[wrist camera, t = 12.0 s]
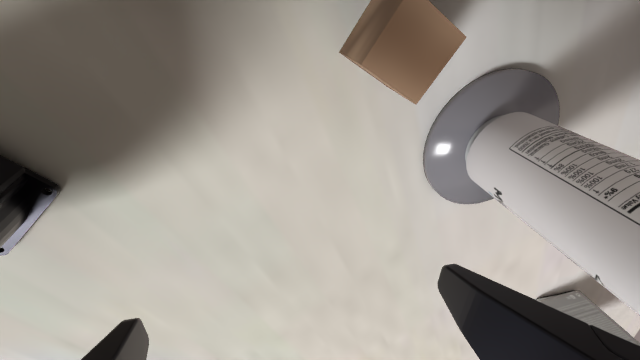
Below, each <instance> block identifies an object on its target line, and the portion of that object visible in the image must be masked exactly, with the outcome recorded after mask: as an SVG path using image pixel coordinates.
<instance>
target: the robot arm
mask: <svg viewBox="0 0 640 360" xmlns="http://www.w3.org/2000/svg"><path fill="white" fill-rule="evenodd" d="M45 188H48V189H50V190H51V191H52V192H49V191H47V190H46V189H45ZM59 192H60V187H59V186H58V185H57V184H56V183H54V182H52V181H50V180H48V179H46V178H44V177H42V176H40V175H38V174H37V173H35V172H33V171H31V170H29V169H27V168H25V167H23V166H21V165H19V164H17V163H15V162H13V161H11V160H9V159H7V158H5V157H3V156H1V155H0V255H6V254H8V253H9V252H10V251H11V250H12V249H13V247H14V246H15V245H16V244H17V243H18V241H19V240H20V239H21V238H22V237H23V235H24V234H25V233H26V232H27V231H28V229H29V228H30V227H31V226H32V225H33V224H34V222H35V221H36V220H37V219H38V218H39V216H40V215H41V214H42V213H43V212H44V210H45V209H46V208H47V207H48V206H49V204H50V203H51V202H52V201H53V200H54V199H55V197H56V196H57V195H58V194H59ZM1 247H2V248H1ZM438 289H439V292H440V294H441V296H442V297H443V299H444V301H445V303H446V305H447V307H448V309H449V310H450V312H451V314H452V316H453V318H454V320H455V322H456V323H457V325H458V327H459V329H460V330H461V332H462V334H463V335H464V337H465V338H466V340H467V341H468V343H469V344H470V346H471V347H472V349H473V350H474V351H475V353H476V354H477V356H478V357H479V359H480V360H640V346H639V345H637V344H634V343H632V342H630V341H627V340H625V339H623V338H620V337H618V336H616V335H614V334H611V333H609V332H607V331H604V330H602V329H600V328H598V327H596V326H593V325H589V324H588V323H586V322H584V321H581V320H579V319H577V318H575V317H572V316H570V315H568V314H566V313H564V312H561V311H559V310H557V309H555V308H552V307H550V306H548V305H546V304H543V303H541V302H539V301H537V300H535V299H532V298H530V297H528V296H526V295H523V294H521V293H519V292H517V291H515V290H512V289H510V288H508V287H506V286H503V285H501V284H499V283H497V282H495V281H492V280H490V279H488V278H486V277H483V276H481V275H479V274H477V273H475V272H472V271H470V270H468V269H466V268H463V267H461V266H459V265H457V264H450V265H445V266H443V267H442V270H441V273H440V277H439V280H438ZM148 346H149V338H148V334H147V332H146V330H145V328H144V325H143V323H142V321H141V319H139V318H134V319H128V320H124V321H122V322H121V323H120V324H118V325H117V326H116V327H115V328H114V329H113V330H112V331H111V332H110V333H109V334H108V335H107V336H106V337H105V338H104V339H103V340H101V341H100V342H99V343H98V344H97V345H96V346H95V347H94V348H93V349H92V350H91V351H90V352H89V353H88V354H87V355H86V356H84V357H83V358H82V359H81V360H146V357H147V352H148Z"/></svg>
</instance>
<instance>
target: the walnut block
mask: <svg viewBox="0 0 640 360" xmlns="http://www.w3.org/2000/svg"><path fill="white" fill-rule="evenodd" d="M465 38H466V36H465V35H464V34H463V33H462V32H461V31H460V30H459V29H458V28H457V27H456V26H455V25H453V24H452V23H451V22H450V21H449V20H448V19H447V18H446V17H445V16H444V15H443V14H442V13H441V12H440V11H439V10H438V9H437V8H436V7H435V6H434V5H433V4H432V3H431V2H430V1H429V0H371V1H370V3H369V5H368V6H367V8H366V9H365V11H364V13H363V14H362V16H361V18H360V19H359V21H358V22H357V24H356V26H355V27H354V29H353V31H352V32H351V34H350V35H349V37H348V39H347V40H346V42H345V44H344V45H343V47H342V48H341V50H340V52H339V53H341V54H342V55H344V56H345V57H346V58H348V59H349V60H351V61H352V62H353V63H355V64H356V65H358V66H359V67H360V68H362V69H363V70H365V71H366V72H367V73H369V74H370V75H372V76H373V77H374V78H376V79H377V80H379V81H380V82H382V83H383V84H384V85H386V86H387V87H389V88H390V89H392V90H393V91H395V92H397V93H398V94H400V95H401V96H403V97H405V98H406V99H408V100H409V101H411V102H413V103H414V104H417V103H418V101H419V100H420V99H421V97H422V96H423V95H424V93H425V92H426V91H427V89H428V88H429V87H430V85H431V84H432V83H433V81H434V80H435V79H436V77H437V76H438V75H439V73H440V72H441V71H442V69H443V68H444V67H445V65H446V64H447V63H448V61H449V60H450V59H451V57H452V56H453V54H454V53H455V52H456V50H457V49H458V48H459V46H460V45H461V44H462V42H463V41H464V40H465Z"/></svg>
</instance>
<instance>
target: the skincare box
mask: <svg viewBox="0 0 640 360" xmlns="http://www.w3.org/2000/svg"><path fill="white" fill-rule="evenodd" d="M537 301H539V302H541V303H543V304H546V305H548V306H550V307H552V308H555V309H557V310H559V311H561V312H564V313H566V314H568V315H570V316H572V317H575V318H577V319H579V320H581V321H584V322H586V323H588V324H589V325H593V326H596V327H598V328H600V329H602V330H604V331H607V332H609V333H611V334H614V335H616V336H618V337H620V338H623V339H625V340H627V341H630V342H632V343H634V344H637V345H639V346H640V343H639V342H638V341H637V340H636V339H634V338H633V337H632V336H631V335H630V334H629V333H628V332H626V331H625V330H624V329H623V328H622V327H621V326H619V325H618V324H617V323H616V322H615V321H614V320H613V319H611V318H610V317H609V316H608V315H607V314H606V313H604V312H603V311H602V310H601V309H600V308H599V307H598V306H596V305H595V304H594V303H593V302H592V301H590V300H589V299H588V298H587V297H586V296H585V295H584V294H582V293H581V292H580V291H578V290H577V291H572V292H568V293H564V294H560V295H556V296H551V297H546V298H540V299H537Z"/></svg>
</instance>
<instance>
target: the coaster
mask: <svg viewBox="0 0 640 360" xmlns="http://www.w3.org/2000/svg"><path fill="white" fill-rule="evenodd" d="M559 111H560V108H559V100H558V96H557V93H556V91H555V89H554V87H553V86H552V85H551V83H550V82H549V81H548V80H547V79H546V78H544V77H543V76H541V75H539V74H537V73H534V72H530V71H527V70H523V69H514V68H513V69H503V70H498V71H494V72H492V73H489V74H486V75H484V76H482V77H480V78H478V79H476V80H474V81H473V82H471V83H470V84H468V85H467V86H465V87H464V88H463V89H462V90H460V91H459V92H458V93H457V94H456V95H455V96H454V97H453V98H452V99H451V100H450V101H449V102H448V103H447V104H446V105H445V107H444V108H443V109H442V111H441V112H440V113H439V115H438V116H437V118H436V120H435V121H434V123H433V125H432V127H431V129H430V132H429V134H428V136H427V140H426V143H425V147H424V153H423V165H424V171H425V175H426V178H427V180H428V182H429V184H430V185H431V186H432V188H433V189H434V190H435V191H436V192H437V193H438V194H439V195H440V196H442V197H443V198H445V199H446V200H449V201H451V202H455V203H459V204H475V203H481V202H484V201H488V200H491V199H493V198H494V197H492V196H491V195H490V194H489V193H487V192H486V191H485V190H484V189H482V188H481V187H480V186H479V185H477V184H476V183H475V182H474V181H473V180H472V179H471V178H470V177H469V175H468V172H467V169H466V160H465V153H466V148H467V145H468V143H469V141H470V139H471V137H472V136H473V134H474V133H475V132H476V131H477V130H478V129H479V128H480V127H481V126H482V125H483V124H484V123H486V122H487V121H489V120H491V119H492V118H495V117H497V116H502V115H506V114H509V113H514V112H525V113H528V114H531V115H533V116H536V117H538V118H541V119H543V120H545V121H548V122H550V123H553V124H555V125H557V126H558V121H559Z"/></svg>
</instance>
